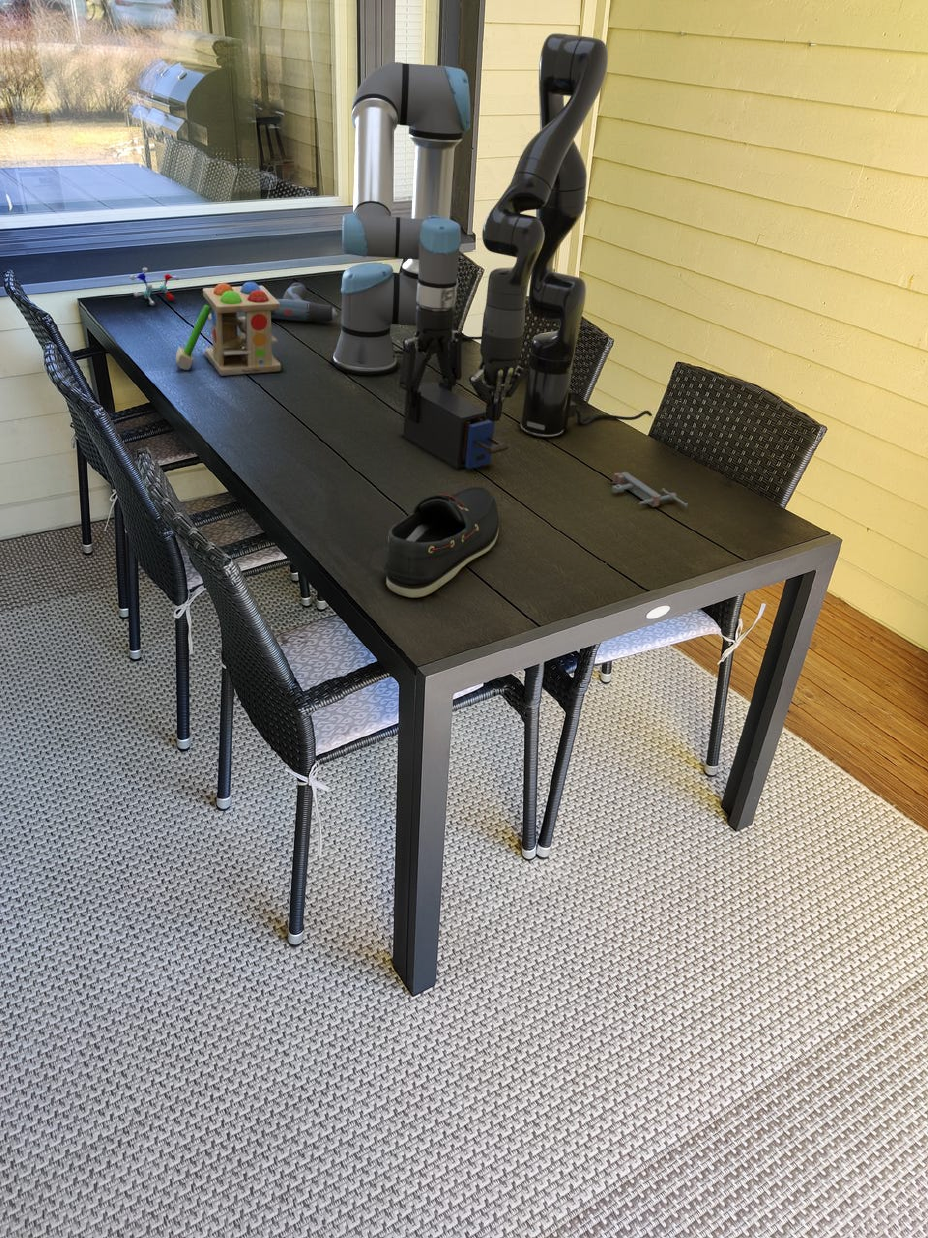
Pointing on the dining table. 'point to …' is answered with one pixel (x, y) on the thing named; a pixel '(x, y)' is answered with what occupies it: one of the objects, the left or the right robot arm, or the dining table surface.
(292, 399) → the dining table surface
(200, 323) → the pounding bench toy
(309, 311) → the power drill
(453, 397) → the cabinet
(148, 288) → the molecular model
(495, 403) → the right robot arm
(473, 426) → the drawer
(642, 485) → the clamp
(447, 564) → the boat shoe
